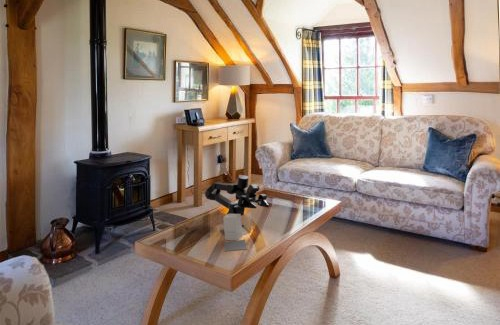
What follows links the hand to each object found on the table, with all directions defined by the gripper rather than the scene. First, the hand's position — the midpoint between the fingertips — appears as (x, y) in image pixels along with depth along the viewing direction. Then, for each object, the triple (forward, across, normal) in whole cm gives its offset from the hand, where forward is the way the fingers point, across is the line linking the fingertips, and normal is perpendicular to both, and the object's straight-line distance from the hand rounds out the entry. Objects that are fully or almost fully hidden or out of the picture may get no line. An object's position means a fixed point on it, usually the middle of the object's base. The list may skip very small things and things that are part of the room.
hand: (262, 207), depth 216 cm
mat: (+6, -18, +17) cm, 26 cm away
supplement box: (-4, -11, +20) cm, 23 cm away
